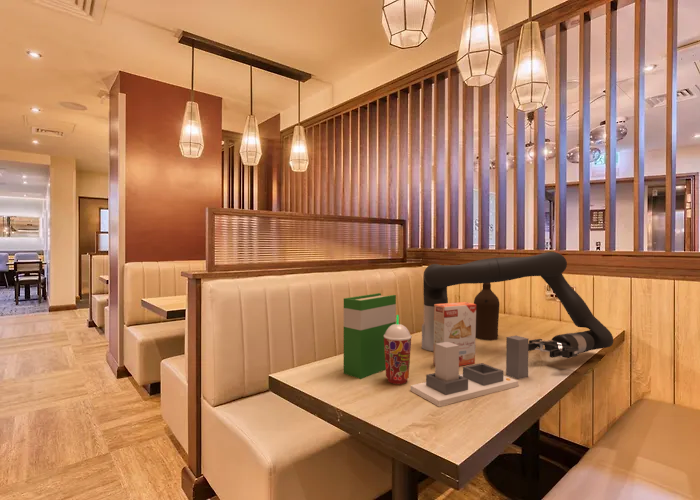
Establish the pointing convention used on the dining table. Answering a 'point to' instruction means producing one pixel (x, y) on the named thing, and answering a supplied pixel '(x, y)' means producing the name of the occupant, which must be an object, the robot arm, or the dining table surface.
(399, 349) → the smoothie
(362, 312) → the hardback book
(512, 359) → the charcoal plug
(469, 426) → the dining table surface
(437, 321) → the cracker box
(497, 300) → the olive oil
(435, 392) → the white board with sockets
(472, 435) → the dining table surface
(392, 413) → the dining table surface
